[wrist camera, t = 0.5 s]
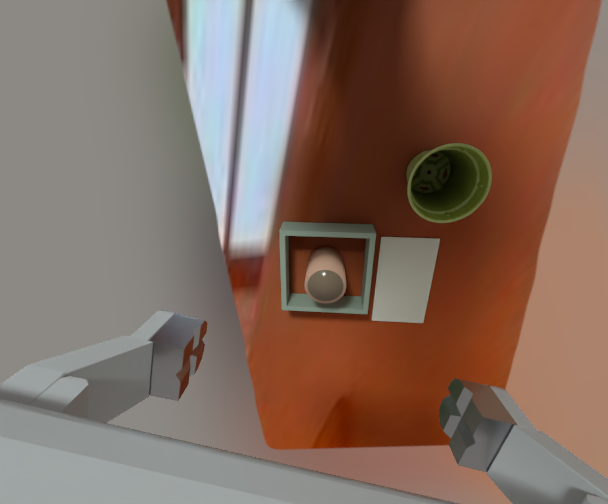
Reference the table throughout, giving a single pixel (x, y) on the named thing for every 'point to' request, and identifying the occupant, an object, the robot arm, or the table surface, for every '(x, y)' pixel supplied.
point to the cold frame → (327, 230)
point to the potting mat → (404, 278)
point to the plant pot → (448, 182)
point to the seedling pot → (325, 275)
